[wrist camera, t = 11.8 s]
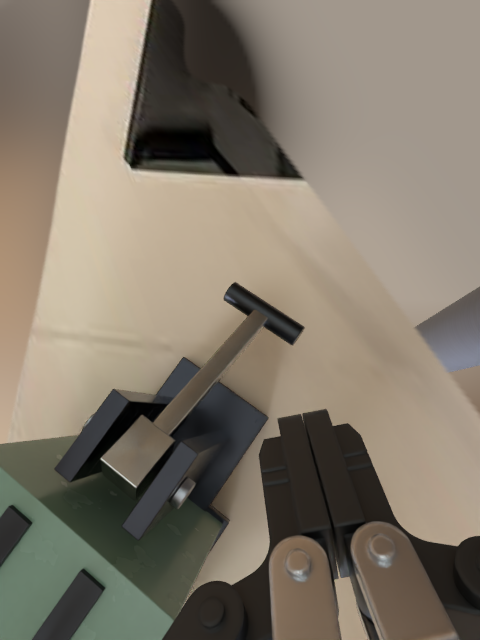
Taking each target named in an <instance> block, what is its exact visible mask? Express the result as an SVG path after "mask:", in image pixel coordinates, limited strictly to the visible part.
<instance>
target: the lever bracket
mask: <svg viewBox="0 0 480 640" xmlns="http://www.w3.org/2000/svg"><path fill="white" fill-rule="evenodd" d="M200 369H201V368H199V367H198V366H196V365H195V364H194V363H192V362H191V361H189V360H188V359H186V358H185V357H183V358H182V359H181V361H180V362H179V364H178V365H177V366H176V368H175V369H174V370H173V372H172V373H171V375H170V376H169V377H168V379H167V380H166V382H165V383H164V384H163V386H162V387H161V388H160V390H159V391H158V393H157V394H156V395H152V394H145V393H138V392H131V391H125V390H118V389H113V390H112V391H111V393H110V394H109V395H108V397H107V398H106V399H105V401H104V402H103V403H102V405H101V406H100V408H99V409H98V410H97V412H96V413H94V414H93V415H92V416H91V417H90V418H89V419H88V420H87V422H86V423H85V425H84V427H83V429H82V432H81V433H80V435H79V436H78V437H77V439H76V440H75V441H74V443H73V444H72V445H71V447H70V448H69V449H68V451H67V452H66V454H65V455H64V456H63V458H62V459H61V460H60V462H59V463H58V464H57V466H56V467H55V468H54V470H55V471H56V472H58V473H59V474H60V475H61V476H62V477H64V478H65V479H66V480H67V481H68V482H73V481H76V480H79V479H82V478H85V477H88V476H91V475H94V474H97V473H100V472H102V469H101V463H100V457H101V456H102V455H103V454H104V453H105V452H106V451H107V450H108V449H109V448H110V447H111V446H112V445H113V444H114V442H115V441H116V440H117V439H118V438H119V437H120V436H121V435H122V434H123V433H124V432H125V431H126V430H127V429H128V428H129V426H130V425H131V424H132V423H133V422H134V421H135V420H136V419H137V418H138V417H139V416H140V415H143V416H144V417H146V418H147V419H148V420H150V421H151V422H152V423H153V421H154V420H155V419H156V418H157V417H158V416H159V415H160V414H161V413H162V411H163V410H164V409H165V408H166V407H167V406H168V405H169V404H170V403H171V401H172V400H173V399H174V398H175V397H176V396H177V395H178V394H179V393H180V391H181V390H182V389H183V388H184V387H185V386H186V385H187V384H188V383H189V381H190V380H191V379H192V378H193V377H194V376H195V375H196V374H197V373H198V371H199V370H200ZM267 420H268V416H266V415H265V414H263V413H262V412H261V411H259V410H258V409H256V408H255V407H254V406H252V405H251V404H249V403H248V402H247V401H245V400H244V399H242V398H241V397H240V396H238V395H237V394H236V393H234V392H233V391H231V390H230V389H229V388H227V387H226V386H224V385H223V384H222V383H220V382H218V383H217V384H216V385H215V386H214V388H213V389H212V390H211V391H210V392H209V394H208V395H207V396H206V397H205V398H204V400H203V401H202V402H201V403H200V404H199V406H198V407H197V408H196V409H195V410H194V411H193V413H192V414H191V415H190V416H189V417H188V419H187V420H186V421H185V422H184V423H183V425H182V426H181V427H180V428H179V429H178V431H177V432H176V433H175V434H174V435H173V437H172V438H173V439H174V440H175V445H174V449H173V453H172V454H171V456H170V457H169V458H168V460H167V461H166V463H165V464H164V466H163V467H162V468H161V470H160V471H159V473H158V474H157V476H156V477H155V478H154V480H153V481H152V483H151V484H150V486H149V487H148V488H147V490H146V491H145V493H144V494H143V496H142V497H141V498H140V500H139V501H138V503H137V504H136V506H135V507H134V508H133V510H132V511H131V513H130V514H129V516H128V517H127V518H126V520H125V521H124V523H123V524H122V528H124V529H125V530H126V531H127V532H128V533H130V534H131V535H132V536H133V537H134V538H135V539H137V540H138V541H139V540H140V539H141V538H142V537H144V536H145V535H146V534H147V533H148V532H149V531H150V530H151V529H152V528H153V527H154V526H155V525H157V524H158V523H159V522H160V521H161V520H162V519H163V518H164V517H165V516H166V515H167V514H168V513H170V512H171V511H172V510H173V509H174V508H176V509H179V508H180V506H181V505H182V504H183V502H184V501H185V500H186V498H188V499H190V500H191V501H192V502H193V503H195V504H196V505H197V506H198V507H200V508H201V509H202V510H203V511H205V512H206V510H207V509H208V507H209V506H210V504H211V503H212V502H213V500H214V499H215V497H216V496H217V494H218V493H219V491H220V490H221V488H222V487H223V485H224V484H225V482H226V481H227V479H228V478H229V476H230V475H231V473H232V472H233V470H234V469H235V467H236V466H237V464H238V463H239V461H240V460H241V458H242V457H243V455H244V454H245V453H246V451H247V450H248V448H249V447H250V445H251V444H252V442H253V441H254V439H255V438H256V436H257V435H258V433H259V432H260V430H261V429H262V427H263V426H264V424H265V423H266V421H267Z"/></svg>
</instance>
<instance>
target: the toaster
mask: <svg viewBox="0 0 480 640" xmlns="http://www.w3.org/2000/svg"><path fill="white" fill-rule="evenodd" d="M78 436H79V435H77V436H68V437H59V438H50V439H41V440H32V441H23V442H15V443H6V444H0V640H162V639H163V637H164V636H165V634H166V632H167V631H168V629H169V628H170V626H171V625H172V623H173V622H174V620H175V619H176V617H177V616H178V614H179V612H180V610H181V608H182V606H183V604H184V602H185V600H186V598H187V596H188V594H189V592H190V590H191V588H192V586H193V584H194V582H195V580H196V578H197V576H198V574H199V572H200V570H201V567H202V565H203V563H204V561H205V559H206V557H207V555H208V554H209V552H210V551H211V549H212V548H213V546H214V545H215V543H216V542H217V540H218V539H219V537H220V536H221V534H222V532H223V531H224V529H225V528H226V526H227V525H228V523H229V521H230V520H229V519H227V518H226V517H225V516H224V515H222V514H221V513H220V512H219V511H217V510H216V509H215V508H214V507H212V506H211V505H210V506H209V507H208V509H207V510H206V512H205V511H203V510H202V509H201V508H200V507H198V506H197V505H196V504H195V503H193V502H192V501H191V500H190V499H188V498H186V500H185V501H184V502H183V504H182V505H181V506H180V508H179V509H176V508H174V509H173V510H172V511H171V512H170V513H168V514H167V515H166V516H165V517H164V518H163V519H162V520H161V521H160V522H159V523H158V524H157V525H155V526H154V527H153V528H152V529H151V530H150V531H149V532H148V533H147V534H146V535H145V536H144V537H142V538H141V539H140V540H139V541H138V540H137V539H135V538H134V537H133V536H132V535H131V534H130V533H128V532H127V531H126V530H125V529H124V528H122V524H123V523H124V521H125V520H126V518H127V517H128V516H129V514H130V513H131V511H132V510H133V508H134V507H135V506H136V504H137V503H138V501H139V500H140V498H141V497H142V496H143V494H144V493H145V491H146V490H147V488H148V487H149V486H150V485H149V486H148V487H147V488H146V490H145V491H144V492H143V493H142V495H141V496H140V497H139V498H138V500H137V501H134V500H132V499H131V498H130V497H129V496H128V495H126V494H125V493H124V492H123V491H122V490H120V489H119V488H118V487H117V486H115V485H114V484H113V483H112V482H111V481H109V480H108V479H107V478H106V477H105V476H103V474H102V472H100V473H97V474H94V475H91V476H88V477H85V478H82V479H79V480H76V481H73V482H68V481H67V480H66V479H65V478H64V477H62V476H61V475H60V474H59V473H58V472H56V471H55V470H54V468H55V467H56V466H57V464H58V463H59V462H60V460H61V459H62V458H63V456H64V455H65V454H66V452H67V451H68V449H69V448H70V447H71V445H72V444H73V443H74V441H75V440H76V439H77V437H78ZM151 483H152V482H151Z"/></svg>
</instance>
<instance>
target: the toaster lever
mask: <svg viewBox="0 0 480 640" xmlns="http://www.w3.org/2000/svg"><path fill="white" fill-rule="evenodd" d="M224 301H226V302H227V303H229V304H230V305H232V306H233V307H235V308H236V309H238V310H239V311H241V312H242V313H244V314H245V315H247V316H248V317H247V318H246V319H245V320H244V321H243V322H242V324H241V325H240V326H239V327H238V328H237V329H236V330H235V331H234V332H233V334H232V335H231V336H230V337H229V338H228V339H227V340H226V341H225V342H224V344H223V345H222V346H221V347H220V348H219V349H218V350H217V351H216V352H215V354H214V355H213V356H212V357H211V358H210V359H209V360H208V361H207V363H206V364H205V365H204V366H203V367H202V368H201V369H200V370H199V371H198V373H197V374H196V375H195V376H194V377H193V378H192V379H191V380H190V381H189V383H188V384H187V385H186V386H185V387H184V388H183V389H182V390H181V391H180V393H179V394H178V395H177V396H176V397H175V398H174V399H173V400H172V401H171V403H170V404H169V405H168V406H167V407H166V408H165V409H164V410H163V411H162V413H161V414H160V415H159V416H158V417H157V418H156V419H155V420H154V421H153V423H152V422H151V421H150V420H148V419H147V418H146V417H144V416H143V415H140V416H139V417H138V418H137V419H136V420H135V421H134V422H133V423H132V424H131V425H130V426H129V428H128V429H127V430H126V431H125V432H124V433H123V434H122V435H121V436H120V437H119V438H118V439H117V440H116V441H115V442H114V444H113V445H112V446H111V447H110V448H109V449H108V450H107V451H106V452H105V453H104V454H103V455H102V456H101V457H100V463H101V469H102V474H103V476H105V477H106V478H107V479H108V480H109V481H111V482H112V483H113V484H114V485H115V486H117V487H118V488H119V489H120V490H122V491H123V492H124V493H125V494H126V495H128V496H129V497H130V498H131V499H132V500H134V501H137V500H138V498H139V497H140V496H141V495H142V493H143V492H144V491H145V490H146V488H147V487H148V486H149V485H150V484H151V482H152V481H153V480H154V478H155V477H156V476H157V474H158V473H159V471H160V470H161V468H162V467H163V466H164V464H165V463H166V461H167V460H168V458H169V457H170V456H171V454H172V453H173V449H174V445H175V440H174V439H173V438H172V437H173V435H174V434H175V433H176V432H177V431H178V429H179V428H180V427H181V426H182V425H183V423H184V422H185V421H186V420H187V419H188V417H189V416H190V415H191V414H192V413H193V411H194V410H195V409H196V408H197V407H198V406H199V404H200V403H201V402H202V401H203V400H204V398H205V397H206V396H207V395H208V394H209V392H210V391H211V390H212V389H213V388H214V386H215V385H216V384H217V383H218V382H219V380H220V379H221V378H222V377H223V376H224V375H225V373H226V372H227V371H228V370H229V369H230V367H231V366H232V365H233V364H234V363H235V361H236V360H237V359H238V358H239V357H240V355H241V354H242V353H243V352H244V351H245V349H246V348H247V347H248V346H249V345H250V344H251V342H252V341H253V340H254V339H255V338H256V336H257V335H258V334H259V333H260V332H261V330H262V329H263V328H264V327H265V328H266V329H268V330H269V331H271V332H272V333H274V334H275V335H277V336H278V337H280V338H281V339H283V340H284V341H286V342H287V343H289V344H290V345H294V343H295V342H296V341H297V339H298V338H299V336H300V335H301V333H302V332H303V330H304V328H305V327H304V326H302V325H301V324H299V323H298V322H296V321H294V320H293V319H291V318H290V317H288V316H287V315H285V314H284V313H282V312H281V311H279V310H278V309H276V308H274V307H273V306H271V305H270V304H268V303H267V302H265V301H264V300H262V299H261V298H259V297H258V296H256V295H255V294H253V293H251V292H250V291H248V290H247V289H245V288H244V287H242V286H241V285H239V284H238V283H236V282H235V283H233V284H232V285H231V286H230V287H229V288H228V290H227V292H226V293H225V296H224Z"/></svg>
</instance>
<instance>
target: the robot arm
mask: <svg viewBox="0 0 480 640" xmlns="http://www.w3.org/2000/svg"><path fill="white" fill-rule="evenodd" d="M277 419H278V424H279V429H280V434H281V436H280V437H275V438H269V439H264V441H263V444H262V447H261V450H260V453H259V460H260V468H261V475H262V483H263V490H264V498H265V505H266V513H267V520H268V528H269V535H270V546H269V551H268V554H267V556H266V558H265V560H264V562H263V563H262V565H261V566H260V567H259V568H258V569H257V570H256V571H255V572H253V573H252V574H250V575H249V576H247V577H245V578H244V579H242V580H240V581H239V582H237V583H235V584H233V585H232V586H231V585H230V584H228V583H226V582H222V581H211V582H208V583H205V584H203V585H201V586H200V587H199V588H197V589H196V590H195V591H194V592H193V593H192V595H191V596H190V597H189V599H188V600H187V602H186V603H185V605H184V606H183V608H182V609H181V611H180V612H179V614H178V616H177V617H176V619H175V620H174V622H173V623H172V625H171V626H170V628H169V629H168V631H167V632H166V634H165V636H164V637H163V639H162V640H342V639H341V633H340V627H339V621H338V615H339V609H338V602H337V595H336V589H335V582H334V579H339V578H338V571H337V564H338V568H339V572H340V576H341V578H343V577H349V576H350V579H351V583H352V586H353V590H354V593H355V597H356V605H357V610H358V614H359V617H360V620H361V623H362V626H363V628H364V631H365V634H366V637H367V640H480V536H474V537H470V538H468V539H465V540H464V541H463V542H461V543H460V545H459V546H451V545H445V544H438V543H432V542H427V541H424V540H421V539H419V538H417V537H415V536H413V535H411V534H410V533H408V532H407V531H406V530H405V529H403V528H402V526H401V525H400V524H399V523H398V522H397V520H396V519H395V517H394V515H393V512H392V510H391V507H390V505H389V503H388V500H387V498H386V495H385V493H384V491H383V488H382V486H381V483H380V481H379V478H378V476H377V474H376V471H375V469H374V467H373V465H372V462H371V459H370V457H369V454H368V453H367V449H366V447H365V445H364V442H363V440H362V437H361V435H360V434H359V433H358V432H357V431H356V430H355V429H353V428H352V427H351V426H350V425H349V424H348V423H347V424H342V425H337V426H332V423H331V420H330V417H329V414H328V411H327V409H323V410H318V411H313V412H308V413H303V420H302V416H301V414H298V415H293V416H288V417H282V418H277ZM303 421H304V423H303ZM336 560H337V564H336Z"/></svg>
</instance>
